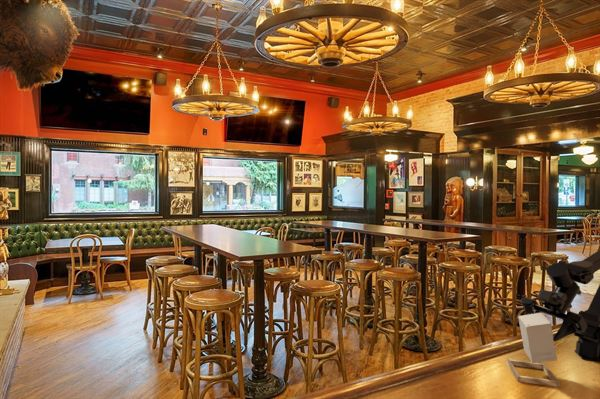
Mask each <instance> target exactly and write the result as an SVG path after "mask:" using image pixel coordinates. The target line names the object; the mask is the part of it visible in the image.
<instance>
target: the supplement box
mask: <svg viewBox="0 0 600 399" xmlns="http://www.w3.org/2000/svg"><path fill="white" fill-rule="evenodd" d="M517 318H518V323H519V330H520V333H521V334H520V335H521V340H522V345H523V350H524V352H525V354H526V356H527V357H528V358H529V360H530V362H532V363H546V362H547V363H548V362H555V361H558V356H557V351H556V346H555V341H554V340H553V338H554V334H553V327H552V323H551V322H550V320H549V319H548V318H547V317H546V316H545V315H544V313H542V312H539V313H535V314H529V315H525V314H524V315H518V316H517Z"/></svg>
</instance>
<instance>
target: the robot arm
mask: <svg viewBox="0 0 600 399" xmlns="http://www.w3.org/2000/svg"><path fill="white" fill-rule="evenodd" d="M599 270H600V248H599V249H598V250H597V251H596V252H594V253H592V254H590V255H589V256H588V257H586V258H584V259H583V260H576V261H573V260H572V261H571V262H568V263H567V262H566V261H564V260H558V262H555V263H552V264H550V265H548V266H547V267H546V274H547V276H548V278H549V279H550V281H551V283H552V285H553V286H554V287H555V289H554V290H550V291H549V290H546V289H542V288H540V290H539V292H538V295H537V298H536V299H538V300H541V304H542V305H540V304H539V303H538V301H537V300H536V299H534V298H531V297H528V296H524V297H522V298H521V300H520V301H519V303H520V305H521V306H522V308H523V309H524V311H525V313H524V315H529V314H535V313H542V314H545V315H547V316H548V315H549V316H551V317H554V318H557V319H559V320H562V323H561V326H559V328H558V330H557V332H556V333H555V335H553V340H554V343H555V342H557V341H559V340H561V339H564V338H565V337H568V336H569V335H574V337H577V338H578V339H577V340H576V345H575V349H574V353H576V354H577V355H578V357H580V358H581V359H582V360H586V361H595V362H600V284H598V287H597V288H596V292H595V293H594V296H593V298H592V300H591V302H590V304H589V307H588V308H587V309H586V310H579V312H578V313H576V312H573V311H568V309H572V308H573V304H572V303H573V301H574V299H575V298H576V297H577V295H580V296H581V295H582V290H581V288H580V285H579V284H583V285H588V284H589V283H590V282H591V281H592V280H594V275H595V273H596V272H598V271H599ZM578 283H579V284H578ZM543 305H544V306H543Z"/></svg>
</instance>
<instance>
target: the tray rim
mask: <svg viewBox="0 0 600 399" xmlns="http://www.w3.org/2000/svg"><path fill="white" fill-rule="evenodd" d="M505 364H506V366H507V367H508V369H509V370H510V372H511V373H512V375H513V377H514V378H515V380H516V381H517V382H520V383H526V384H533V385H534V384H536V385H542V386H549V387H555V388H556V387H557V388H560V386H561V382H560V381H559V379H558V378H557V377H556V376H555V375H554V373H553V372H552V371H551V370H550V368H549V367H548V366H547V365H546V364H545V363H542V362H540V363H532V362H531V361H524V360H518V359H510V358H506V362H505ZM515 366H516V367H524V368H530V369H537V370H542V371H544V373H545V374H546V375H547V377H548V378H549V379H547V378H539V377H534V376H533V377H532V376H525V375H520V374H519V372H518V370H517V369H516V367H515Z"/></svg>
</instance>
